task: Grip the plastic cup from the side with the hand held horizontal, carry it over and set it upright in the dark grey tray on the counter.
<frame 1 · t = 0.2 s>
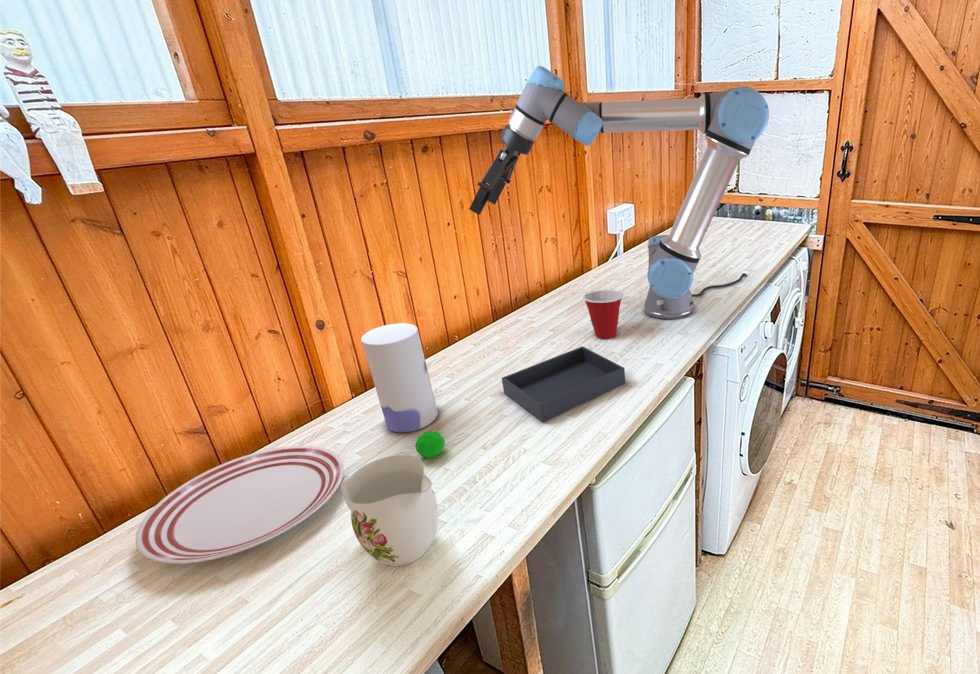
hand: (482, 206, 133), 36 cm above the worktop, tool tilted 35°, fingers open, 13 cm apart
plastic cup: (606, 335, 144), on the worktop
dark grey tray: (565, 388, 118), on the worktop
polyhedron: (433, 455, 98), on the worktop
pitcher: (402, 546, 78), on the worktop
container: (413, 419, 109), on the worktop
dinner plate: (255, 510, 86), on the worktop
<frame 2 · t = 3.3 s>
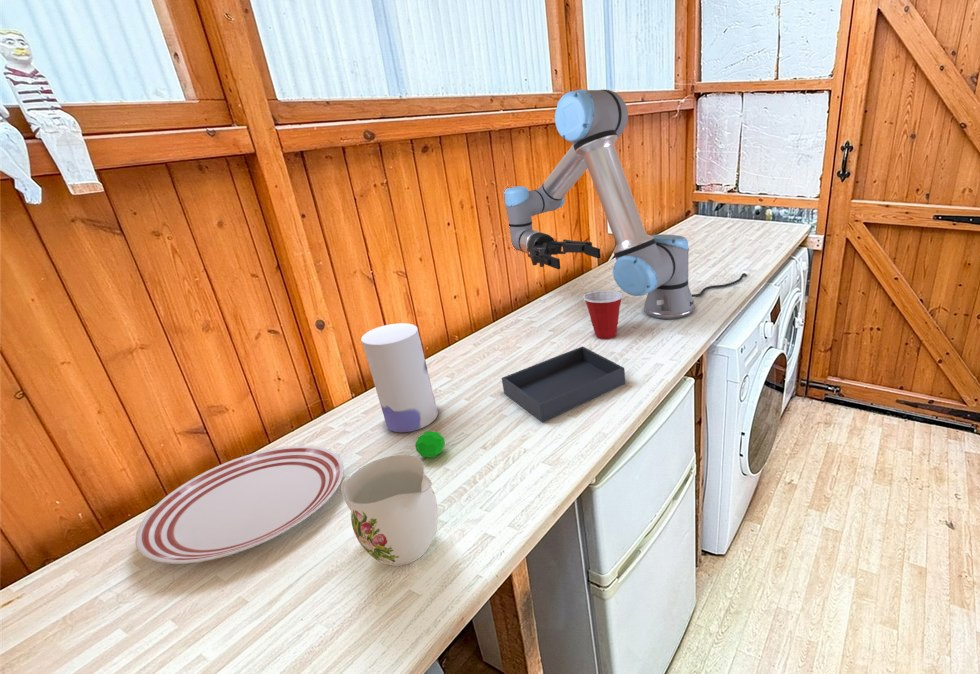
hand: (579, 258, 142), 20 cm above the worktop, tool horizontal, fingers open, 13 cm apart
nothing on the worktop moved.
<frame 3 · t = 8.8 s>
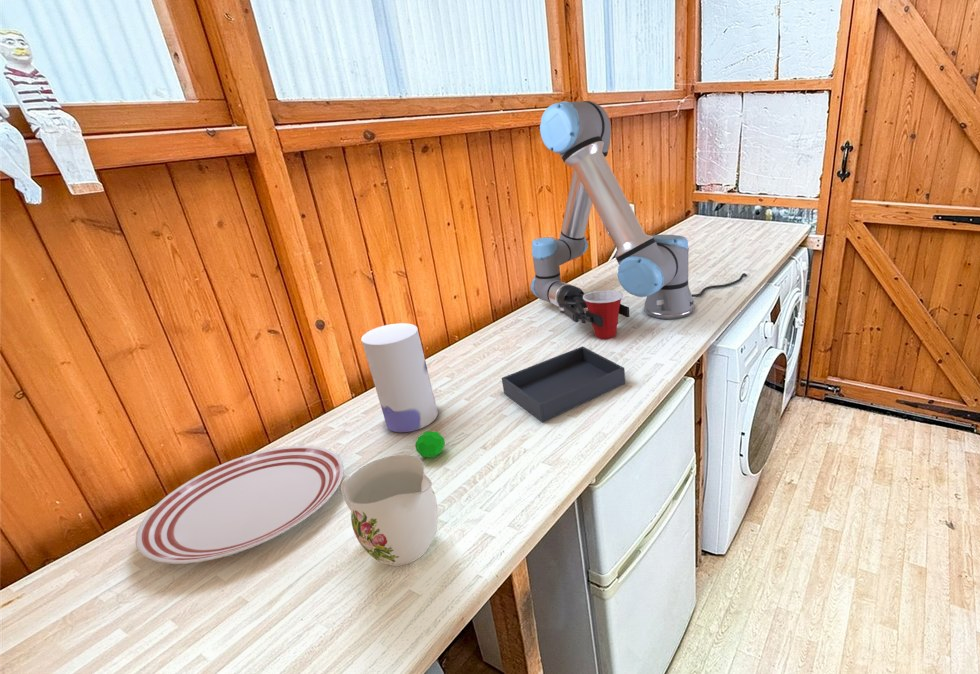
hand: (615, 317, 138), 7 cm above the worktop, tool horizontal, fingers closed on plastic cup, 8 cm apart
plastic cup: (606, 335, 144), on the worktop, touching gripper
everything else where it was.
when the fingers open (8 cm above the worktop, at t = 18.0 s): plastic cup stays where it is, resting in dark grey tray.
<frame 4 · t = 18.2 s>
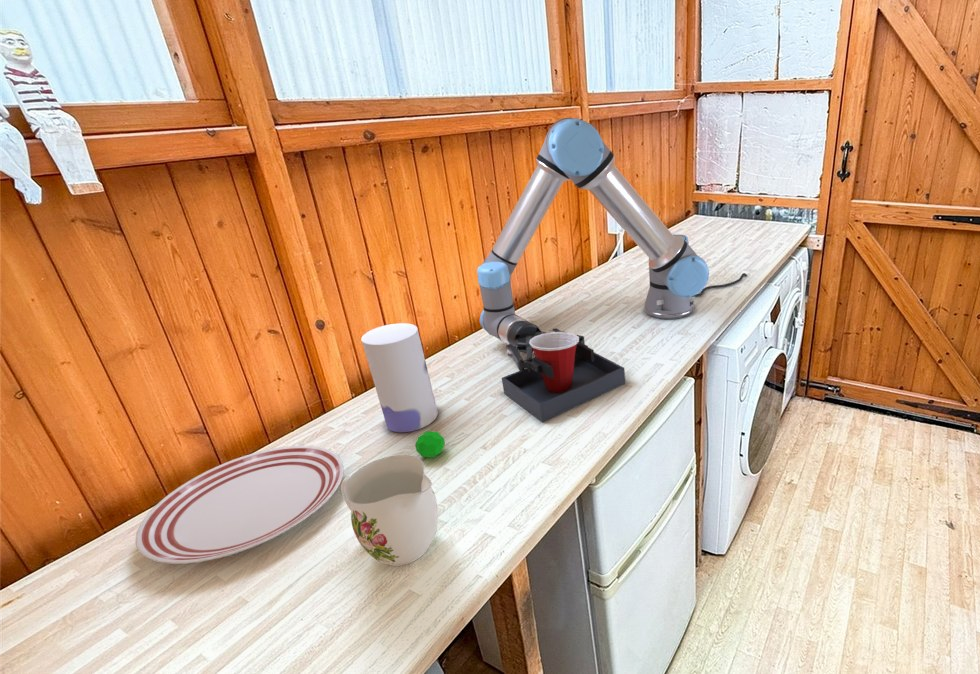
hand: (572, 364, 112), 8 cm above the worktop, tool horizontal, fingers open, 10 cm apart
plastic cup: (559, 386, 118), resting on dark grey tray, touching gripper
everything else where it was.
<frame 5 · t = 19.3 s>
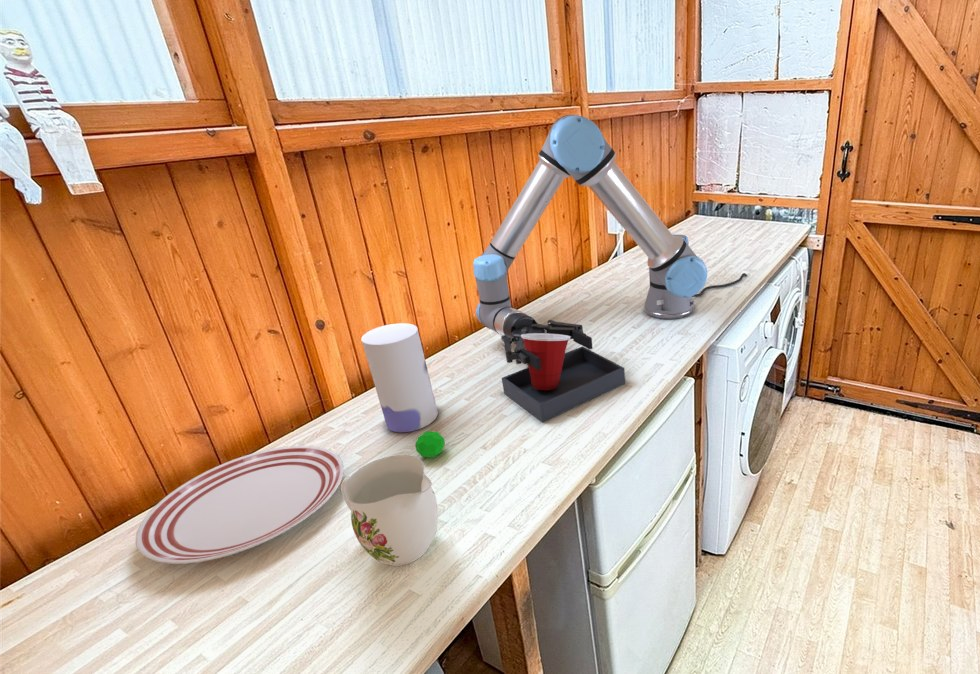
hand: (565, 353, 113), 10 cm above the worktop, tool horizontal, fingers open, 13 cm apart
plastic cup: (545, 387, 117), point 1 cm above the worktop, touching dark grey tray
everything else where it was.
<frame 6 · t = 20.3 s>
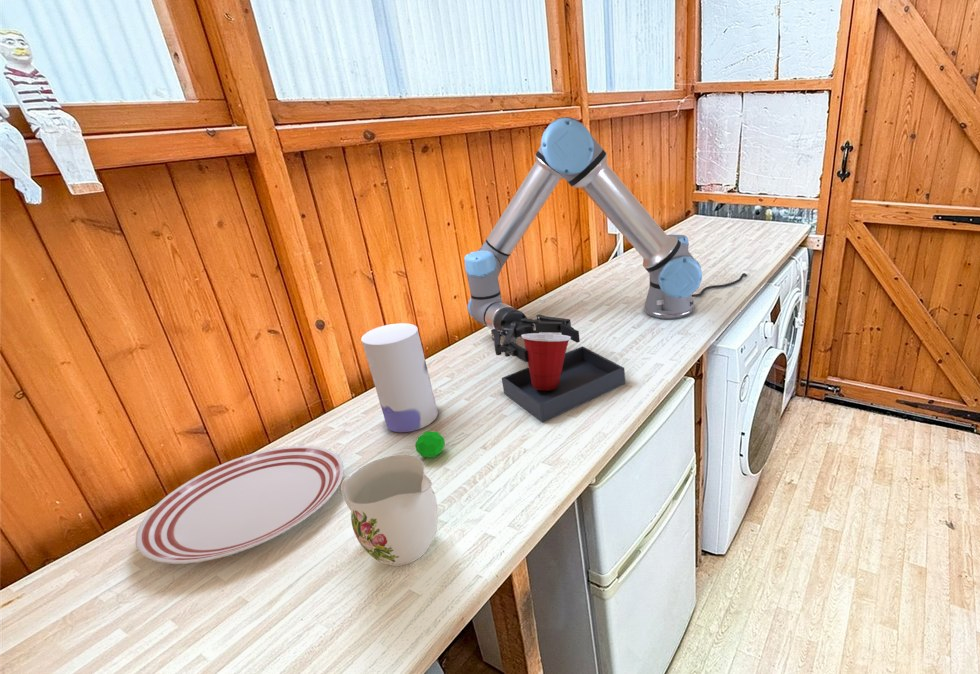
hand: (553, 346, 116), 10 cm above the worktop, tool horizontal, fingers open, 13 cm apart
plastic cup: (545, 387, 117), point 1 cm above the worktop, touching dark grey tray, gripper
everything else where it was.
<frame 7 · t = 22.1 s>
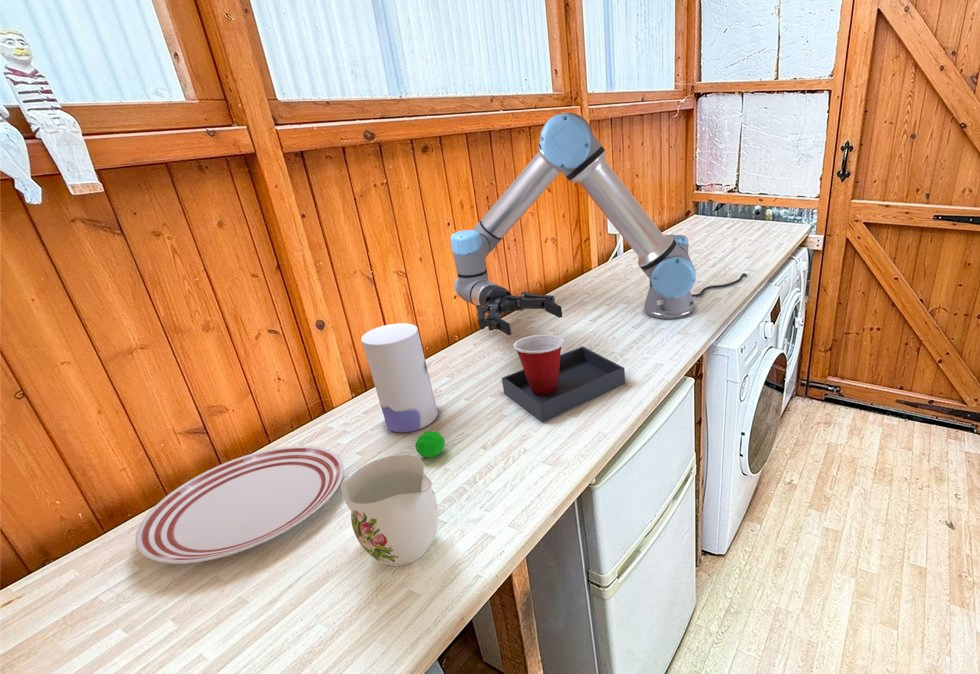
hand: (535, 320, 119), 14 cm above the worktop, tool horizontal, fingers open, 13 cm apart
plastic cup: (545, 390, 117), resting on dark grey tray
everything else where it was.
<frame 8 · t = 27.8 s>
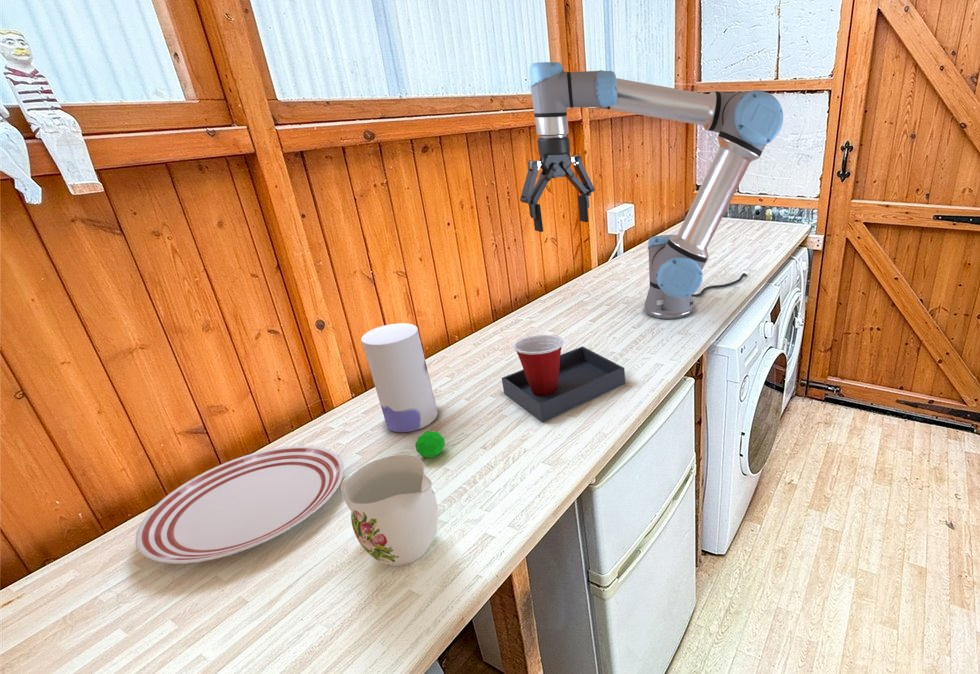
hand: (562, 226, 131), 31 cm above the worktop, tool pointing down, fingers open, 13 cm apart
nothing on the worktop moved.
at the end: plastic cup inside the target area in the dark grey tray (4.5 cm from its centre), point 0.4 cm above the dark grey tray's base; plastic cup tilted 0°; the gripper is holding nothing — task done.
